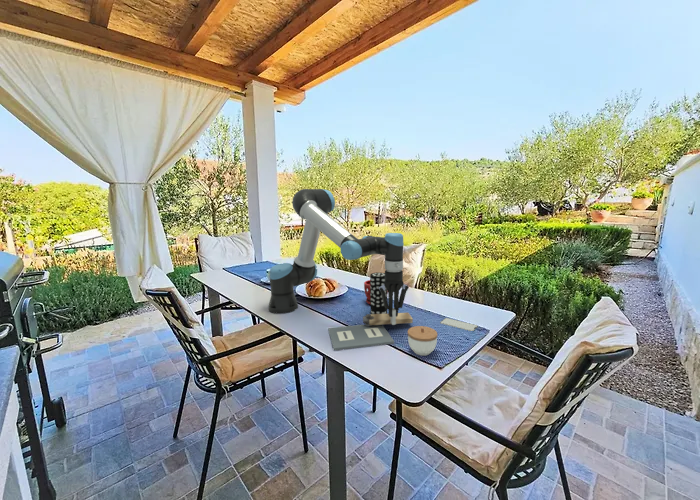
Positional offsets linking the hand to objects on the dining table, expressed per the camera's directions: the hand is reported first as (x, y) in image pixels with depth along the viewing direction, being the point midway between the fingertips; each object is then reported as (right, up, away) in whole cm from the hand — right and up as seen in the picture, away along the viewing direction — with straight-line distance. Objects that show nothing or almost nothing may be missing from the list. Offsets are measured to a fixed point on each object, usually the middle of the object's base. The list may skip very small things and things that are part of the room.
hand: (393, 323), depth 127 cm
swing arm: (-2, 0, +5) cm, 5 cm away
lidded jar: (+8, -6, -17) cm, 20 cm away
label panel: (-15, -4, -4) cm, 16 cm away
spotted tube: (-4, 0, +20) cm, 20 cm away
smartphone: (+30, -2, +6) cm, 31 cm away
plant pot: (-4, +2, +35) cm, 35 cm away
